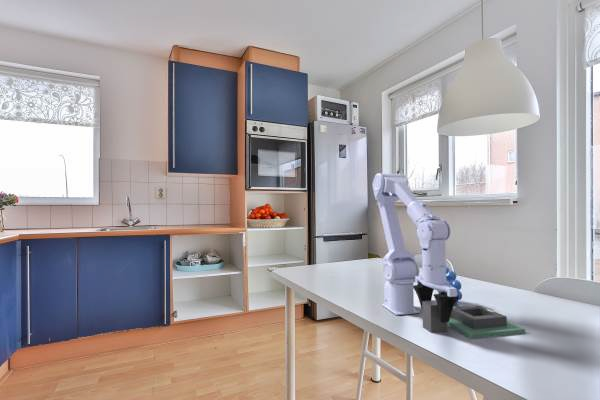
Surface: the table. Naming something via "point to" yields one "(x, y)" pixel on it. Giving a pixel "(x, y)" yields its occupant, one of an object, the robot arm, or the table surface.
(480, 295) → the table surface
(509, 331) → the board
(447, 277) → the grapes
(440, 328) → the plug
